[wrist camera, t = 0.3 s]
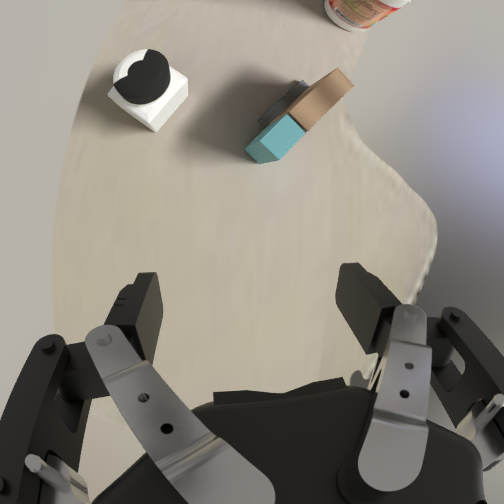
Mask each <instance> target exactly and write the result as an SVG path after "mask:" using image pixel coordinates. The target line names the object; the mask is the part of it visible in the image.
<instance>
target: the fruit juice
mask: <svg viewBox="0 0 504 504" xmlns="http://www.w3.org/2000/svg"><path fill="white" fill-rule="evenodd" d="M411 1H412V0H325V2H324V8H325V11H326V13H327V15H328V16H329V18H330V19H331V20H332V21H333V22H334V23H335V24H337V25H338V26H340V27H341V28H343V29H345V30H348V31H351V32H361V31H364V30H366V29H368V28H369V27H371V26H372V25H374V24H375V23H377V22H378V21H380V20H382V19H383V18H385V17H387V16H388V15H390V14H391V13H393V12H395V11H396V10H398V9H400V8H401V7H403V6H405V5H407V4H408V3H409V2H411Z"/></svg>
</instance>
